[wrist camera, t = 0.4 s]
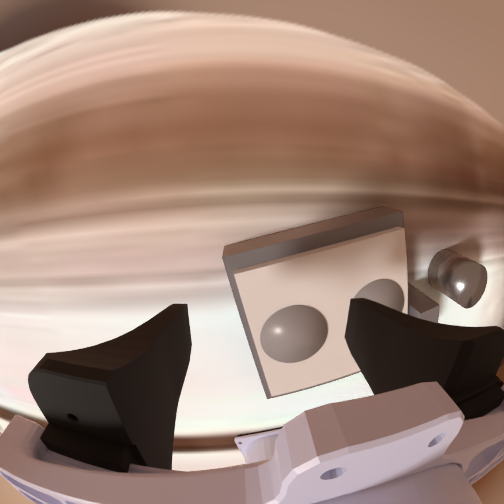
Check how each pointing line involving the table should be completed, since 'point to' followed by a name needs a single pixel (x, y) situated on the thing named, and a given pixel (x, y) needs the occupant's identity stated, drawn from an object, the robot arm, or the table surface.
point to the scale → (318, 293)
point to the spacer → (457, 277)
